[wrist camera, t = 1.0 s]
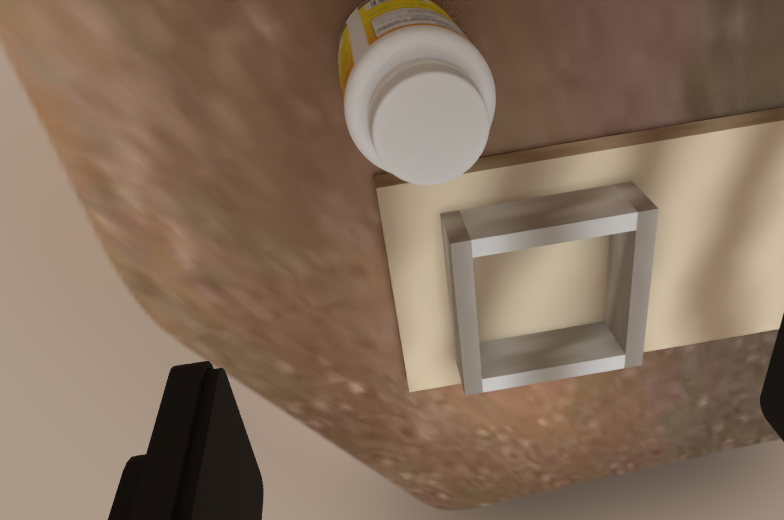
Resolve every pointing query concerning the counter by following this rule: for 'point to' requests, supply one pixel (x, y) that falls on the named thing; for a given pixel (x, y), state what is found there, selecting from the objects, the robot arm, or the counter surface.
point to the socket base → (588, 253)
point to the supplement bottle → (414, 90)
